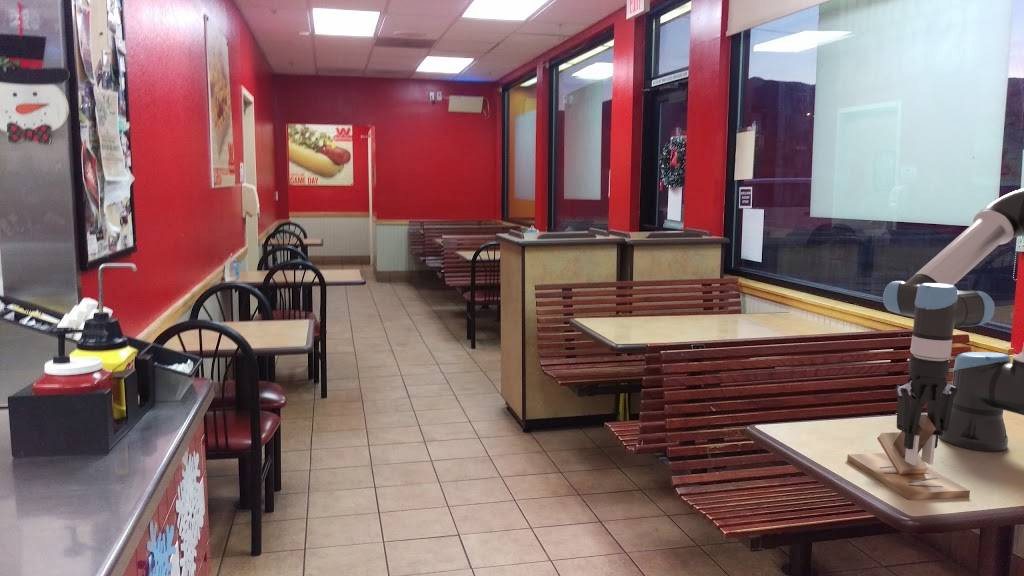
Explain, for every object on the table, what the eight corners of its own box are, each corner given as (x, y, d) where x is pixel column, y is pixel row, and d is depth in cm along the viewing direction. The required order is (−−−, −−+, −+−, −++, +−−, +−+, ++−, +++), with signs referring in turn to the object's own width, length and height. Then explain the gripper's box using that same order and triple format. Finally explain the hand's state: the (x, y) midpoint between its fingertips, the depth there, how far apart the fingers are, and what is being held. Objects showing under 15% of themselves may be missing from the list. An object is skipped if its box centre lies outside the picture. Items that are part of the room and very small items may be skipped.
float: (901, 437, 177) (924, 403, 169) (924, 474, 170) (950, 440, 162) (877, 438, 176) (899, 403, 168) (899, 475, 169) (923, 441, 161)
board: (901, 458, 183) (902, 452, 183) (969, 497, 162) (970, 489, 161) (847, 460, 181) (847, 454, 181) (908, 499, 159) (909, 492, 159)
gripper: (951, 352, 168) (940, 455, 172) (883, 353, 166) (873, 457, 169) (977, 360, 161) (965, 467, 164) (906, 361, 158) (895, 470, 162)
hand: (918, 462), depth 167 cm, fingers closed on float, 3 cm apart
